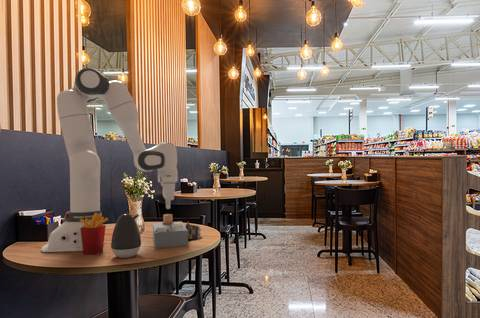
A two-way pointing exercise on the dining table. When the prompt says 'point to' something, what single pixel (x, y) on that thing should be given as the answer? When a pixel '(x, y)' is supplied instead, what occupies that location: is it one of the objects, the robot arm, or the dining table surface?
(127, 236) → the dark grey egg shape
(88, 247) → the french fries
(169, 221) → the terracotta plunger
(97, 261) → the dining table surface
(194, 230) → the chocolate cake
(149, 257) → the dining table surface
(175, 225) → the cream plunger
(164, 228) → the grey plunger
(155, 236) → the grey open box
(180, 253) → the dining table surface
